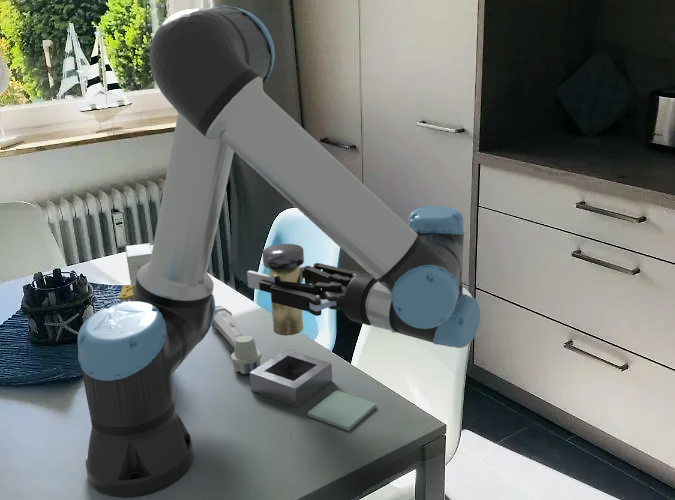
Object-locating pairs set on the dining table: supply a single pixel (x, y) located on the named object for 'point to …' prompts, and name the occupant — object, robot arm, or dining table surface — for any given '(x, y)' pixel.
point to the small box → (137, 258)
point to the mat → (341, 410)
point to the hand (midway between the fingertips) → (260, 273)
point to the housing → (291, 392)
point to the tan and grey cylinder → (286, 265)
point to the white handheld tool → (237, 342)
